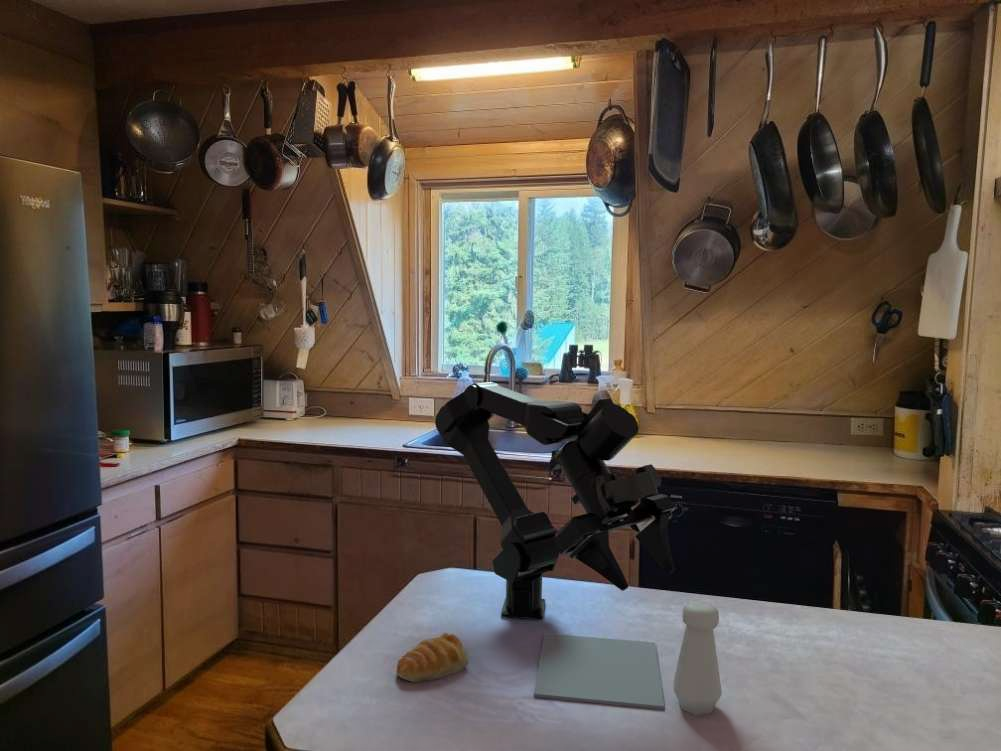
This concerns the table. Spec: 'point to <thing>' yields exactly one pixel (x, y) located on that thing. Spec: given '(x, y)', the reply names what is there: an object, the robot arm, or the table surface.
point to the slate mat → (599, 671)
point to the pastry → (433, 659)
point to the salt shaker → (698, 660)
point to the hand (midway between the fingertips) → (649, 580)
